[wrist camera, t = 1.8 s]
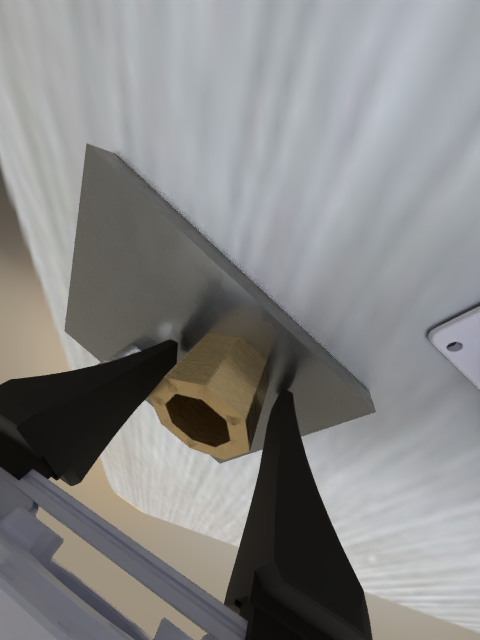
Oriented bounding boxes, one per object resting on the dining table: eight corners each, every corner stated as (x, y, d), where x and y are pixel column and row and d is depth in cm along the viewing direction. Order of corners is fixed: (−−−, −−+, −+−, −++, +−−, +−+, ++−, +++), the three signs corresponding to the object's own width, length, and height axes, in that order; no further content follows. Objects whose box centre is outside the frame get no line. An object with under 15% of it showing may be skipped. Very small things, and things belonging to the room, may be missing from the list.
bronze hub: (285, 377, 11) (272, 444, 8) (235, 407, 14) (209, 465, 11) (220, 318, 11) (177, 360, 7) (182, 361, 14) (140, 405, 10)
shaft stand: (368, 390, 11) (407, 506, 7) (225, 448, 20) (199, 515, 15) (114, 153, 10) (-51, 94, 6) (81, 323, 19) (6, 355, 14)
